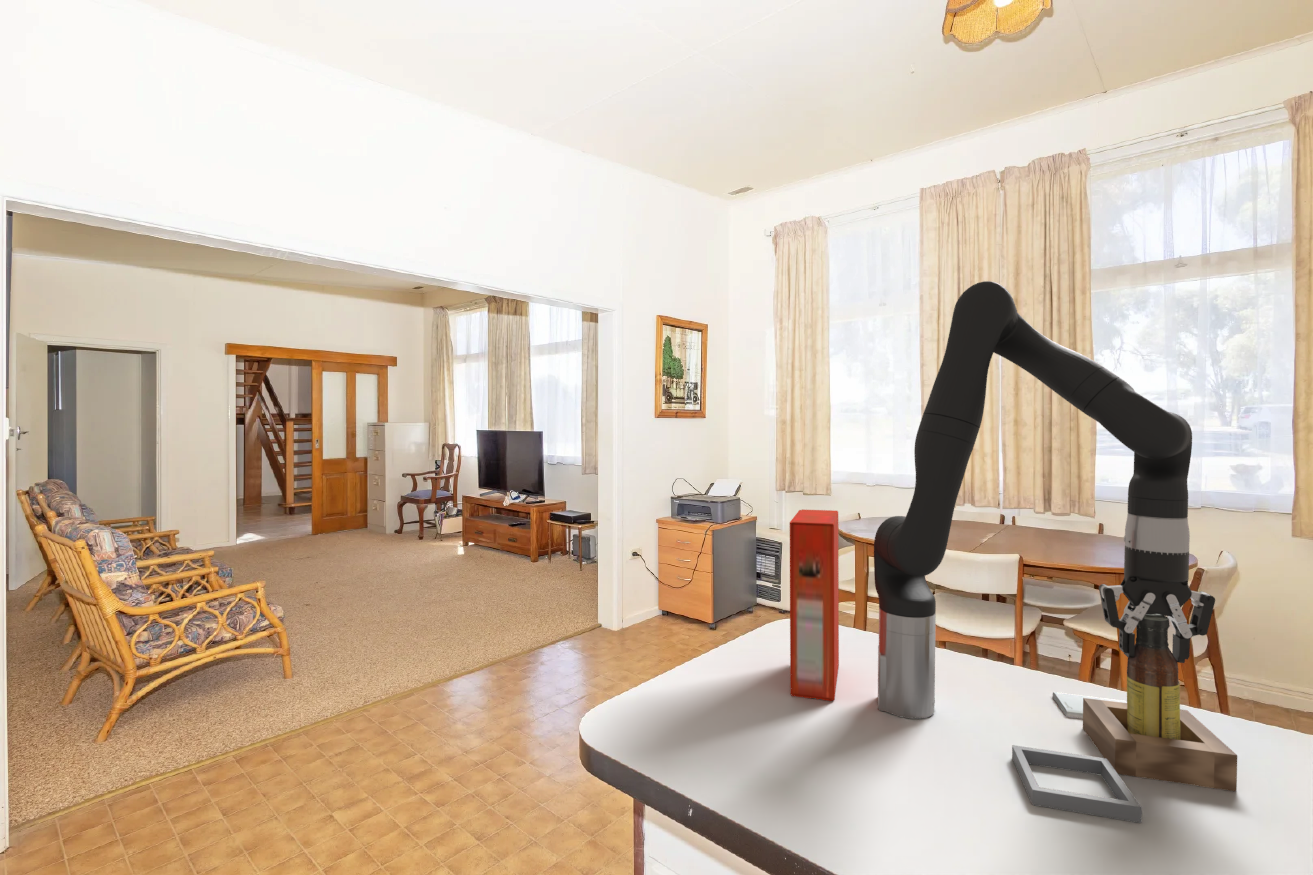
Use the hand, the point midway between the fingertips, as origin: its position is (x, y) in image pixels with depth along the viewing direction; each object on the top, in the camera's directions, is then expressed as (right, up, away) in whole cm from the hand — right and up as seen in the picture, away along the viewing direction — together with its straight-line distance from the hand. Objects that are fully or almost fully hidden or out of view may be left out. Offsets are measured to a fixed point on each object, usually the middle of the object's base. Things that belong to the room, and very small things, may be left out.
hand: (1153, 657), depth 94 cm
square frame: (-17, -15, -8) cm, 24 cm away
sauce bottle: (0, -14, 0) cm, 14 cm away
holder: (0, -15, 0) cm, 15 cm away
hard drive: (+3, -15, +15) cm, 22 cm away
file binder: (-43, -14, +28) cm, 54 cm away
